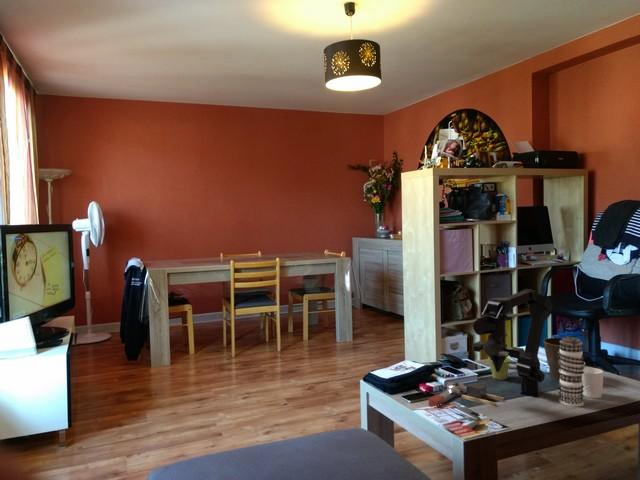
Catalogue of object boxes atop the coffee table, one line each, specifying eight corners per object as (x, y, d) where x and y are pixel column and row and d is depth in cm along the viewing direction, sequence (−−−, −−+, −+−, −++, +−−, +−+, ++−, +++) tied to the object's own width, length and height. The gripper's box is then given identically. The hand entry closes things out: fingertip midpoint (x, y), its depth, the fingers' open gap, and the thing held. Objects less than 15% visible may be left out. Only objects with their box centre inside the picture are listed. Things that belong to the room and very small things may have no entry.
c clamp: (544, 369, 237) (544, 363, 237) (527, 378, 225) (527, 372, 225) (503, 360, 252) (503, 355, 251) (485, 368, 240) (485, 363, 240)
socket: (486, 398, 201) (486, 385, 201) (480, 401, 198) (480, 389, 197) (472, 394, 205) (472, 382, 205) (466, 398, 202) (466, 386, 201)
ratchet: (483, 396, 203) (483, 386, 203) (457, 413, 187) (457, 402, 187) (452, 388, 213) (452, 379, 212) (424, 404, 196) (424, 393, 196)
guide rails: (503, 400, 198) (503, 397, 198) (495, 406, 192) (495, 403, 192) (470, 392, 207) (470, 389, 207) (461, 398, 202) (461, 395, 202)
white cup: (602, 393, 203) (602, 368, 202) (604, 399, 196) (604, 374, 195) (580, 390, 206) (580, 366, 206) (581, 397, 199) (581, 372, 198)
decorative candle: (554, 397, 199) (553, 335, 198) (578, 398, 198) (578, 335, 197) (562, 406, 190) (562, 341, 189) (588, 407, 189) (588, 341, 188)
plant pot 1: (486, 374, 230) (486, 355, 229) (508, 374, 229) (508, 355, 228) (490, 381, 221) (490, 361, 220) (513, 381, 219) (513, 361, 219)
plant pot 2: (552, 370, 233) (552, 335, 232) (586, 377, 222) (586, 341, 221) (537, 377, 223) (537, 342, 222) (573, 385, 212) (572, 348, 211)
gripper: (465, 332, 194) (465, 372, 195) (513, 339, 181) (513, 382, 182) (478, 327, 202) (478, 365, 203) (525, 333, 190) (525, 374, 190)
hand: (498, 371), depth 194 cm, fingers closed
